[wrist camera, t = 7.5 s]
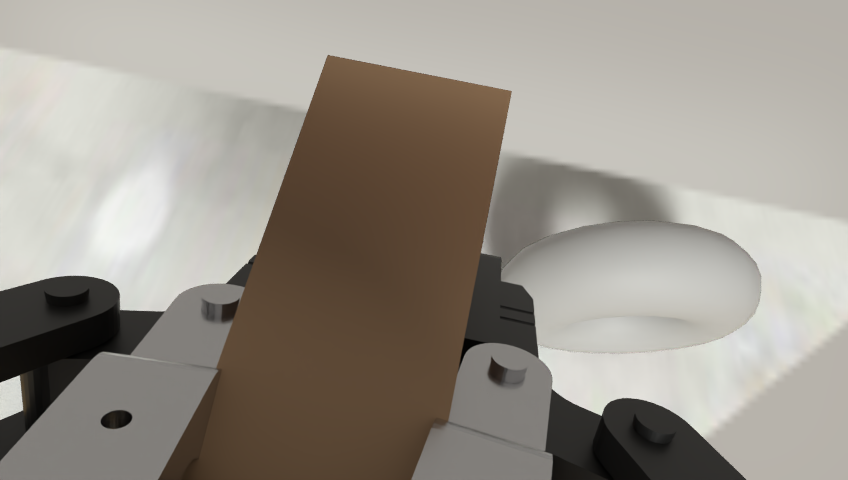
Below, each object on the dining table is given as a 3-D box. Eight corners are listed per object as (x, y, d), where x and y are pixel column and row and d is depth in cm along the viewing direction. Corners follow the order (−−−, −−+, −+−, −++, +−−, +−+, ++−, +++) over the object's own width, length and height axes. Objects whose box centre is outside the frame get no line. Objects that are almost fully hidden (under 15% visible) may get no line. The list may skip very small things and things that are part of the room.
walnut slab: (404, 546, 14) (412, 609, 6) (302, 521, 14) (152, 545, 6) (453, 307, 17) (512, 91, 8) (365, 289, 17) (327, 54, 8)
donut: (481, 359, 28) (520, 294, 19) (480, 287, 29) (517, 194, 20) (694, 366, 28) (836, 306, 19) (684, 295, 30) (812, 207, 20)
